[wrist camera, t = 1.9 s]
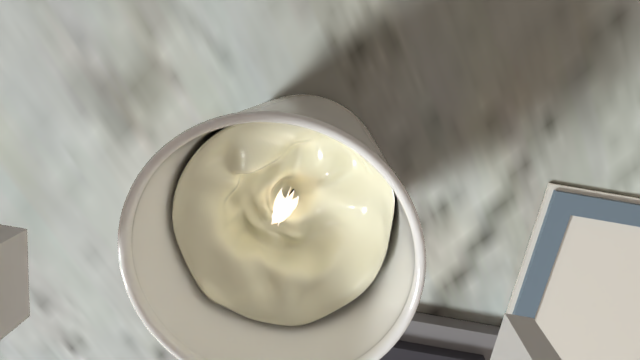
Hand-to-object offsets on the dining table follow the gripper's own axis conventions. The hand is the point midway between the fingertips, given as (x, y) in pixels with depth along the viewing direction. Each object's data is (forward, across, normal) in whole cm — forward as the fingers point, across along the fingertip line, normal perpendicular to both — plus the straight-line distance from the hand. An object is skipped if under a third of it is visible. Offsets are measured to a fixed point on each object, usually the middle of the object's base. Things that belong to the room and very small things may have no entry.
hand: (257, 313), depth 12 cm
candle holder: (+14, 0, 0) cm, 14 cm away
